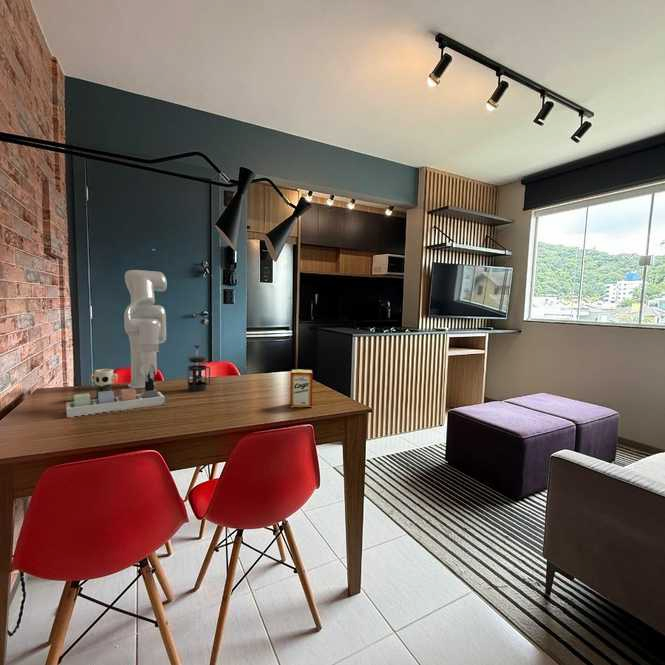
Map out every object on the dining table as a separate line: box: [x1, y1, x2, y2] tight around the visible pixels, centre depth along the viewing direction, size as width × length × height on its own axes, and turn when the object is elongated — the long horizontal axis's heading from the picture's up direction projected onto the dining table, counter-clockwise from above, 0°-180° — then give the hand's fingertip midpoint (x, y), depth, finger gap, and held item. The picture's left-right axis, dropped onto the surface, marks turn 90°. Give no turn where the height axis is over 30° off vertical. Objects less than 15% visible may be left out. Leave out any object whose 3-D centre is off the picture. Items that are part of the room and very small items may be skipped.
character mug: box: [90, 368, 118, 399], centre depth 159 cm, size 11×7×13 cm, turn 100°
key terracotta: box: [120, 388, 137, 401], centre depth 149 cm, size 5×5×4 cm
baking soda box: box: [289, 368, 314, 407], centre depth 156 cm, size 10×6×16 cm
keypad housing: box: [65, 391, 166, 418], centre depth 146 cm, size 10×34×4 cm, turn 128°
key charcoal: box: [141, 387, 158, 399], centre depth 154 cm, size 5×5×4 cm
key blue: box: [98, 389, 115, 404], centre depth 144 cm, size 5×5×4 cm
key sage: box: [73, 392, 91, 407], centre depth 139 cm, size 5×5×4 cm
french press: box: [186, 344, 211, 393], centre depth 179 cm, size 12×9×23 cm
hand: (149, 390), depth 153 cm, fingers closed
